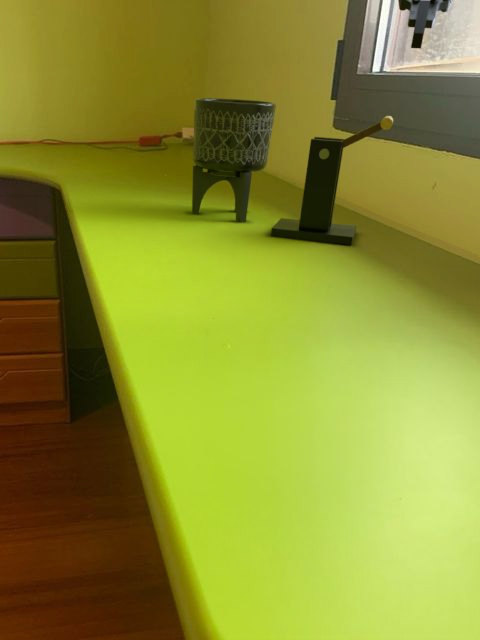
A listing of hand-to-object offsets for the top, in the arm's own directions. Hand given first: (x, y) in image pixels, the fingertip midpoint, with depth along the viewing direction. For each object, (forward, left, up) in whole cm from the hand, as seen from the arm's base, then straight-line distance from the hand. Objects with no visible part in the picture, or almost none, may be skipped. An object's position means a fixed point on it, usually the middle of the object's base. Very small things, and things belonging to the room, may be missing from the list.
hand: (417, 40), depth 104 cm
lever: (+6, +15, -14) cm, 21 cm away
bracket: (+10, +15, -27) cm, 33 cm away
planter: (+26, +7, -28) cm, 38 cm away
